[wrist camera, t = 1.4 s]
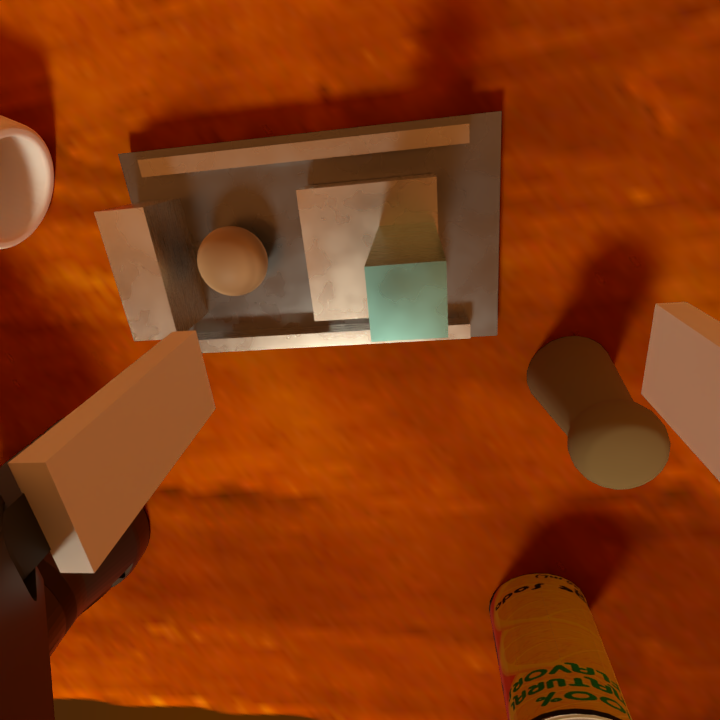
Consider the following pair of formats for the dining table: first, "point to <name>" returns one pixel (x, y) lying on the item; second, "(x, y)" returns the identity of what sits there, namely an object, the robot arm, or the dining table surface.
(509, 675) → the beverage can
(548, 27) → the dining table surface
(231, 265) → the walnut ball
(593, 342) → the olive brown waisted cylinder
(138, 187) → the tray
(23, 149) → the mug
